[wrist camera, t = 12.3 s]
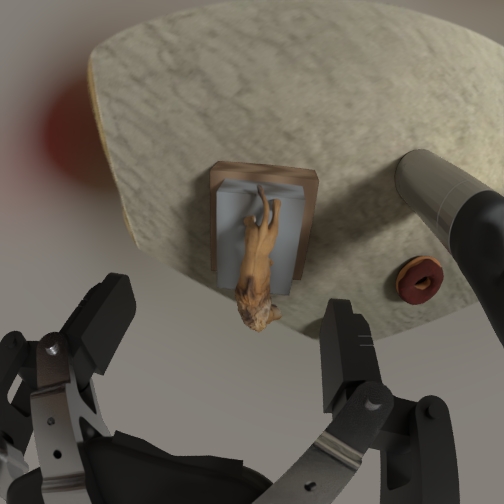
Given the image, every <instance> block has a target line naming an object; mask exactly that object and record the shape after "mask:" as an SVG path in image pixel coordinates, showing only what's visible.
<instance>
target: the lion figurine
mask: <svg viewBox="0 0 504 504" xmlns="http://www.w3.org/2000/svg"><path fill="white" fill-rule="evenodd" d="M257 190H258V195H259V196H260V197H261V199H262V202H263V206H264V213H263V219H262V223H261V225H260V226H258V225H257V224H256V223H255V221H256V218H255V216H254V215H251V216H247V217H246V218H245V219H244V224H245V225H246V226H247V227H246V230H245V239H244V242H245V254H244V257H243V260H242V264H241V268H240V277H239V281H238V284H237V285H236V288H235V298H236V300H237V306H238V311H239V313H240V315H241V317H242V320H243V322H244V324H245V325H247V326H248V327H250V328H251V329H252V330H255V331H257V332H260V331H262V330H263V329H264V328H266V325H267V324H270V323H271V322H272V321H273V320H279V319H280V318H281V317H282V314H281V310H280V309H279V308H278V307H277V306H276V305H274V304H271V297H270V284H269V282H270V274H271V272H270V267H271V266H272V265H273V261H272V259H270V258H269V254H270V252H271V251H272V250H273V248H274V245H275V241H276V237H277V236H278V228H279V211H280V207H281V201H280V200H279V199H273V200H272V202H271V207H272V219H271V222H270V223H269V225H268V221H269V204H268V201H267V199H266V197H265V195H264V189H263V188H262V186H261V185H260V184H257Z"/></svg>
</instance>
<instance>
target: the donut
mask: <svg viewBox="0 0 504 504" xmlns="http://www.w3.org/2000/svg"><path fill="white" fill-rule="evenodd" d="M425 276H426V277H427V276H428V278H427V279H426V281H424V282H422V283H420V284H417V285H415V283H416V282H417V281H419V280H420V279H422V278H423V277H425ZM443 277H444V276H443V270H442V267H441V266H440V263H439V262H438V261H437V260H436V259H435V258H433V257H428V256H420V257H417V258H415V259H413V260H412V261H411V262H409V263H408V264H407V265H406V266H405V267H404V268H403V269H402V270H401V271H400V273H399V274H398V277H397V280H396V289H397V292H398V294H399V296H400V297H401V298H402V299H403V300H404V301H405V302H407V303H409V304H412V305H418V304H421V303H425V302H426V301H427V300H429V299H430V298H431V297H433V296H434V295H435V294H436V293H437V291H438V290H439V288H440V286H441V283H442V281H443Z"/></svg>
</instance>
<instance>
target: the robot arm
mask: <svg viewBox="0 0 504 504" xmlns="http://www.w3.org/2000/svg"><path fill="white" fill-rule="evenodd" d="M395 184H396V188H397V191H398V193H399V195H400V196H401V197H402V198H403V199H404V200H405V202H406V203H407V204H408V205H409V206H410V207H411V208H412V209H413V210H414V211H415V213H416V214H417V215H418V216H419V217H420V218H421V219H422V220H423V222H424V223H425V224H426V225H427V226H428V227H429V228H430V230H431V231H432V232H433V233H434V234H435V236H436V237H437V238H438V239H439V240H440V242H441V243H442V244H443V245H444V246H445V248H446V249H447V250H448V252H449V253H450V254H451V255H452V257H453V258H454V260H455V261H456V262H457V264H458V266H459V268H460V270H461V272H462V273H463V275H464V276H465V278H466V279H467V281H468V282H469V284H470V286H471V287H472V289H473V291H474V292H475V294H476V296H477V298H478V300H479V301H480V303H481V305H482V307H483V309H484V311H485V313H486V315H487V317H488V319H489V321H490V323H491V325H492V327H493V329H494V331H495V333H496V335H497V337H498V338H499V340H500V342H501V343H502V345H503V347H504V197H503V196H502V195H500V194H499V193H497V192H496V191H494V190H493V189H492V188H490V187H489V186H487V185H486V184H484V183H482V182H481V181H479V180H478V179H476V178H475V177H473V176H472V175H470V174H468V173H467V172H465V171H464V170H462V169H460V168H459V167H457V166H455V165H453V164H452V163H450V162H448V161H446V160H445V159H443V158H441V157H439V156H438V155H436V154H434V153H432V152H430V151H427V150H424V149H418V150H413V151H411V152H409V153H408V154H406V155H405V156H404V157H403V158H402V159H401V161H400V162H399V164H398V166H397V169H396V173H395ZM135 312H136V301H135V298H134V294H133V291H132V287H131V283H130V280H129V277H128V276H127V275H124V274H118V273H109V274H108V275H107V276H106V278H105V279H104V280H103V282H102V283H98V284H97V285H95V286H94V287H93V288H91V289H90V290H89V291H88V293H87V294H86V295H85V297H84V298H83V300H82V301H81V302H80V304H79V305H78V307H77V308H76V309H75V310H74V312H73V313H72V314H71V316H70V317H69V318H68V320H67V321H66V323H65V324H64V326H63V327H62V329H61V330H60V331H59V332H51V333H48V334H46V335H45V336H43V338H41V340H40V341H26V339H25V338H24V336H23V335H22V333H21V332H19V331H12V332H9V333H8V334H6V335H5V336H4V337H3V339H2V340H1V342H0V497H1V498H3V499H4V500H5V501H6V503H7V504H331V503H332V502H333V501H334V499H335V498H336V497H337V496H338V495H339V493H340V492H341V491H342V490H343V489H344V487H345V486H346V485H347V483H348V482H349V481H350V480H351V478H352V477H353V476H354V474H355V473H356V471H357V470H358V468H359V467H360V465H361V463H362V461H361V459H362V457H363V456H364V454H365V453H366V451H367V450H368V448H372V449H377V450H380V458H381V490H380V504H460V495H459V478H458V467H457V458H456V450H455V443H454V436H453V432H452V431H453V430H452V425H451V420H450V414H449V410H448V407H447V405H446V403H445V402H444V401H443V400H442V399H441V398H439V397H437V396H433V395H429V396H425V397H423V398H422V399H421V400H419V402H414V401H409V400H406V399H401V398H398V397H396V396H394V395H393V394H392V392H391V391H390V389H389V388H387V386H385V385H384V384H383V383H382V380H381V375H380V371H379V366H378V361H377V357H376V352H375V348H374V347H373V345H374V344H373V340H372V337H371V331H370V327H369V324H368V323H367V321H366V320H365V319H364V317H363V316H362V315H361V314H353V310H352V306H351V302H350V300H346V299H332V298H331V299H330V300H329V302H328V305H327V308H326V312H325V315H324V318H323V321H322V325H321V329H320V354H321V369H322V387H323V409H324V413H332V417H333V420H332V422H331V423H330V424H329V425H328V427H327V428H326V429H325V430H324V431H323V433H322V434H321V435H320V436H319V437H318V438H317V439H316V440H315V441H314V443H313V444H312V445H311V446H310V447H309V448H308V449H307V450H306V452H305V453H304V454H303V455H302V456H301V457H300V458H299V459H298V460H297V461H296V462H295V463H294V464H293V466H291V467H290V468H289V469H288V470H287V472H285V473H284V474H283V475H282V476H281V477H280V478H279V479H278V480H277V481H276V482H275V483H274V484H273V483H272V482H271V481H270V480H269V479H268V478H266V477H265V476H264V475H262V474H260V473H259V472H257V471H254V470H252V469H250V468H248V467H245V466H243V460H236V459H228V458H221V457H215V456H209V455H208V456H173V455H171V454H169V453H167V452H165V451H163V450H161V449H159V448H157V447H155V446H154V445H152V444H150V443H149V442H147V441H145V440H143V439H140V438H137V437H134V436H131V435H128V434H125V433H122V432H119V431H117V430H116V431H115V434H114V436H111V434H110V432H109V430H108V428H107V426H106V425H105V423H104V421H103V419H102V416H101V412H100V409H99V405H98V401H97V397H96V393H95V388H94V384H93V380H92V378H91V377H92V375H93V373H97V374H100V375H104V373H105V371H106V369H107V367H108V365H109V363H110V361H111V359H112V357H113V355H114V353H115V351H116V349H117V348H118V345H119V344H120V342H121V340H122V338H123V336H124V334H125V332H126V330H127V329H128V327H129V325H130V323H131V321H132V320H133V318H134V315H135ZM17 374H18V375H19V376H20V377H21V378H22V382H21V384H20V386H19V388H18V390H17V392H16V394H15V396H14V398H13V401H12V403H11V404H10V403H9V402H8V399H7V394H8V391H9V389H10V387H11V385H12V383H13V381H14V379H15V377H16V376H17ZM33 430H34V437H35V443H36V448H37V453H38V459H39V463H40V467H38V468H37V469H35V470H32V471H30V472H28V471H29V466H28V464H27V463H26V462H25V461H24V454H25V451H26V448H27V446H28V443H29V440H30V437H31V435H32V432H33ZM27 472H28V473H27ZM24 473H26V474H24Z"/></svg>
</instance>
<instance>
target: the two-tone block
mask: <svg viewBox="0 0 504 504" xmlns="http://www.w3.org/2000/svg"><path fill="white" fill-rule="evenodd" d="M257 184H260V185H261V186H262V188H263V189H264V195H265V197H266V199H267V201H268V204H269V221H268V225H269V223H270V222H271V219H272V207H271V202H272V200H273V199H279V200H280V201H281V207H280V211H279V228H278V236H277V237H276V241H275V245H274V248H273V250H272V251H271V252H270V254H269V258H270V259H272V261H273V265H272V266H271V267H270V272H271V274H270V282H269V284H270V294H279V295H289V294H290V288H291V283H292V279H293V280H301V277H302V273H303V268H304V263H305V258H306V253H307V247H308V242H309V237H310V231H311V226H312V220H313V215H314V209H315V203H316V197H317V191H318V184H319V179H318V177H317V174H316V172H315V170H309V169H301V168H293V167H284V166H275V165H265V164H253V163H240V162H225V161H218V162H217V163H216V164H215V166H214V167H213V168H212V169H211V170H210V235H211V270H212V271H217V287H218V288H226V289H234V290H235V288H236V285H237V284H238V281H239V277H240V268H241V264H242V260H243V257H244V254H245V242H244V239H245V230H246V227H247V226H246V225H245V224H244V219H245V218H246V217H247V216H251V215H254V216H255V218H256V221H255V223H256V224H257V225H258V226H260V225H261V223H262V219H263V213H264V206H263V202H262V199H261V197H260V196H259V195H258V190H257Z"/></svg>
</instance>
